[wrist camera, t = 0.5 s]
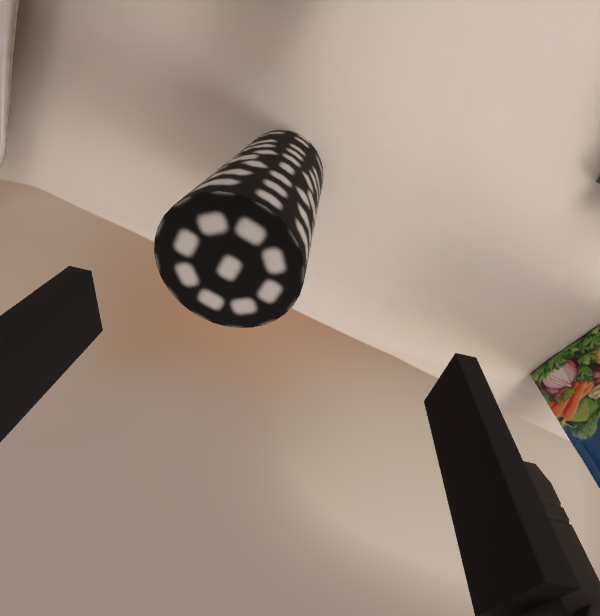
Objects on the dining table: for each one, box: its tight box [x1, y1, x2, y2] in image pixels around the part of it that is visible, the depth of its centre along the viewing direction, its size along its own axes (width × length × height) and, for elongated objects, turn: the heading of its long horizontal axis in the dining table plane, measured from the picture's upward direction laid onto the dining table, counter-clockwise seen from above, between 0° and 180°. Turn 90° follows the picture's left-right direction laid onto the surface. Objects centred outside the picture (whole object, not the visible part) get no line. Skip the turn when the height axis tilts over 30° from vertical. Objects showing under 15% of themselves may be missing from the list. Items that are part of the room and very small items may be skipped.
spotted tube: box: [154, 130, 323, 328], centre depth 27 cm, size 8×8×20 cm
